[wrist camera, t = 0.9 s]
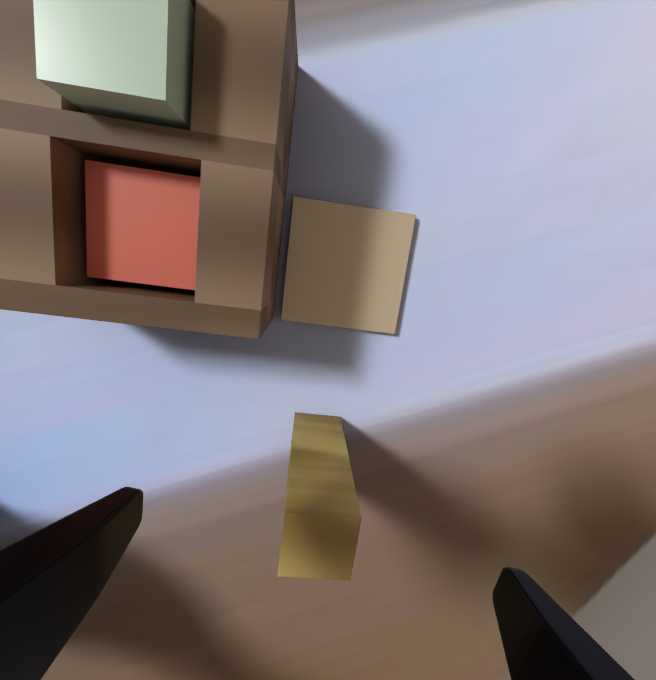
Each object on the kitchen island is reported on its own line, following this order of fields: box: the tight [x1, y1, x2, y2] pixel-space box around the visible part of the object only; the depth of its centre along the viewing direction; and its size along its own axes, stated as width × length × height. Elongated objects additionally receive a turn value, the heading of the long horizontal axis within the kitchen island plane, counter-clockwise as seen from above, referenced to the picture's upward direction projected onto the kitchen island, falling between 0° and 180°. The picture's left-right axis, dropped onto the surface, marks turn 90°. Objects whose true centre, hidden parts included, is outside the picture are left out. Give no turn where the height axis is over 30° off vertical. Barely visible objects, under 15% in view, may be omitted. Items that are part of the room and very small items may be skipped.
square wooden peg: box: [278, 412, 361, 581], centre depth 18 cm, size 3×3×9 cm
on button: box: [33, 0, 195, 130], centre depth 12 cm, size 4×4×3 cm
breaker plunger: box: [85, 160, 201, 290], centre depth 15 cm, size 5×5×2 cm
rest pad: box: [281, 196, 416, 334], centre depth 20 cm, size 7×7×1 cm
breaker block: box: [0, 0, 298, 339], centre depth 15 cm, size 14×11×6 cm
